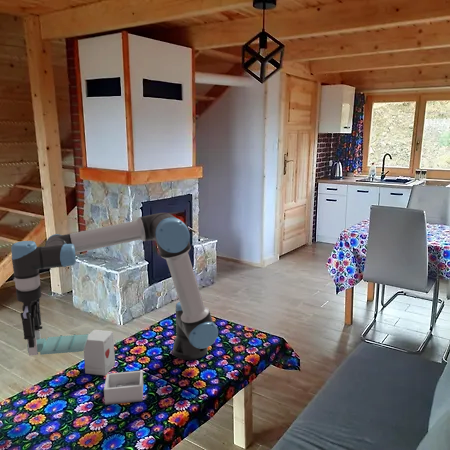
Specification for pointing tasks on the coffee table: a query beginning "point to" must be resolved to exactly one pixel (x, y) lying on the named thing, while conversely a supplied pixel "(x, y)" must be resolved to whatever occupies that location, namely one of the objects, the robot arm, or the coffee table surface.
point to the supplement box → (99, 352)
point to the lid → (61, 344)
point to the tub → (123, 387)
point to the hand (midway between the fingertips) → (35, 351)
